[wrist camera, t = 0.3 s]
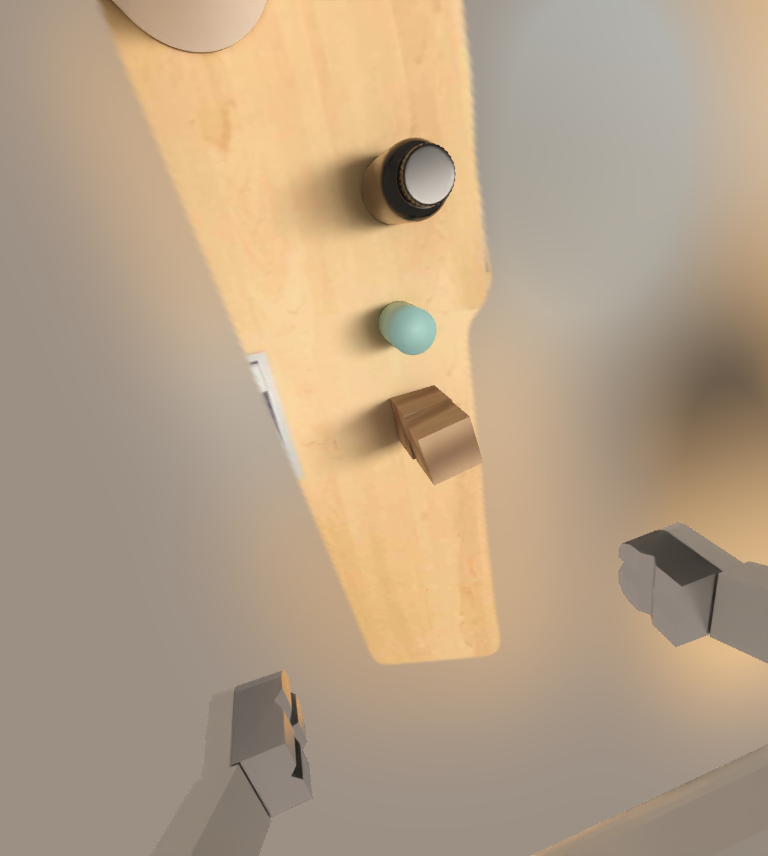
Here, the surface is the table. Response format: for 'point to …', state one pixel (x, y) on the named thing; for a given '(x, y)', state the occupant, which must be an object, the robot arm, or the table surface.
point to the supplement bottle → (408, 182)
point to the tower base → (413, 409)
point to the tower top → (443, 440)
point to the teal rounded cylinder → (407, 327)
